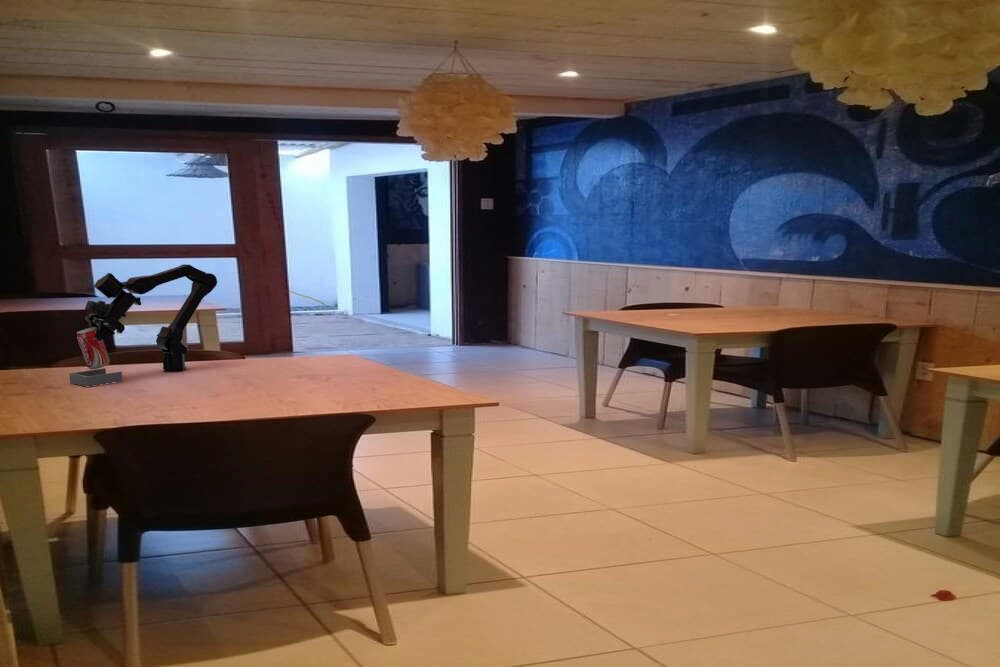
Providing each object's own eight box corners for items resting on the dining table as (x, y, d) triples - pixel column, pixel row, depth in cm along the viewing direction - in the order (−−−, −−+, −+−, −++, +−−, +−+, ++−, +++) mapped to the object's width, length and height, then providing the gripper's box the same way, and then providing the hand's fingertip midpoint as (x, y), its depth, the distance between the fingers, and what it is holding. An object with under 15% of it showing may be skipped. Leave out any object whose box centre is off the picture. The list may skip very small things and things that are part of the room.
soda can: (106, 361, 264) (94, 326, 261) (114, 363, 259) (101, 327, 256) (85, 369, 260) (72, 332, 256) (92, 371, 255) (79, 333, 251)
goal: (105, 377, 265) (104, 368, 265) (122, 381, 258) (121, 371, 258) (70, 383, 256) (69, 373, 256) (87, 387, 249) (86, 377, 249)
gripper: (88, 290, 264) (56, 325, 257) (112, 293, 252) (79, 330, 245) (114, 311, 271) (83, 346, 264) (138, 314, 259) (106, 351, 252)
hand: (87, 343), depth 256 cm, fingers closed on soda can, 4 cm apart
